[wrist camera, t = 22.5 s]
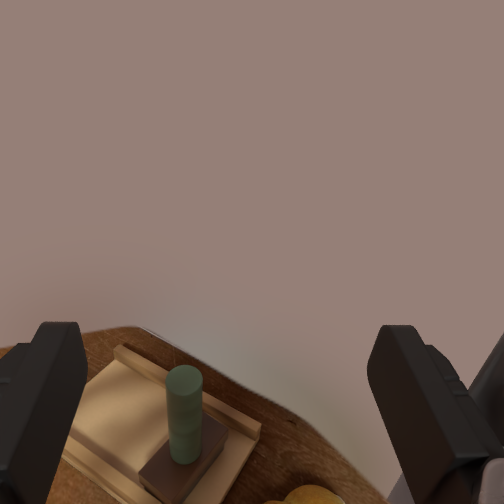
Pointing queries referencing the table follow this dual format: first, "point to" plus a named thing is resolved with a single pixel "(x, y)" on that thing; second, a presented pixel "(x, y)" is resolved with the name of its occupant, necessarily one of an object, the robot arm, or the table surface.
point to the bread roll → (310, 496)
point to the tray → (146, 432)
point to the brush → (183, 440)
